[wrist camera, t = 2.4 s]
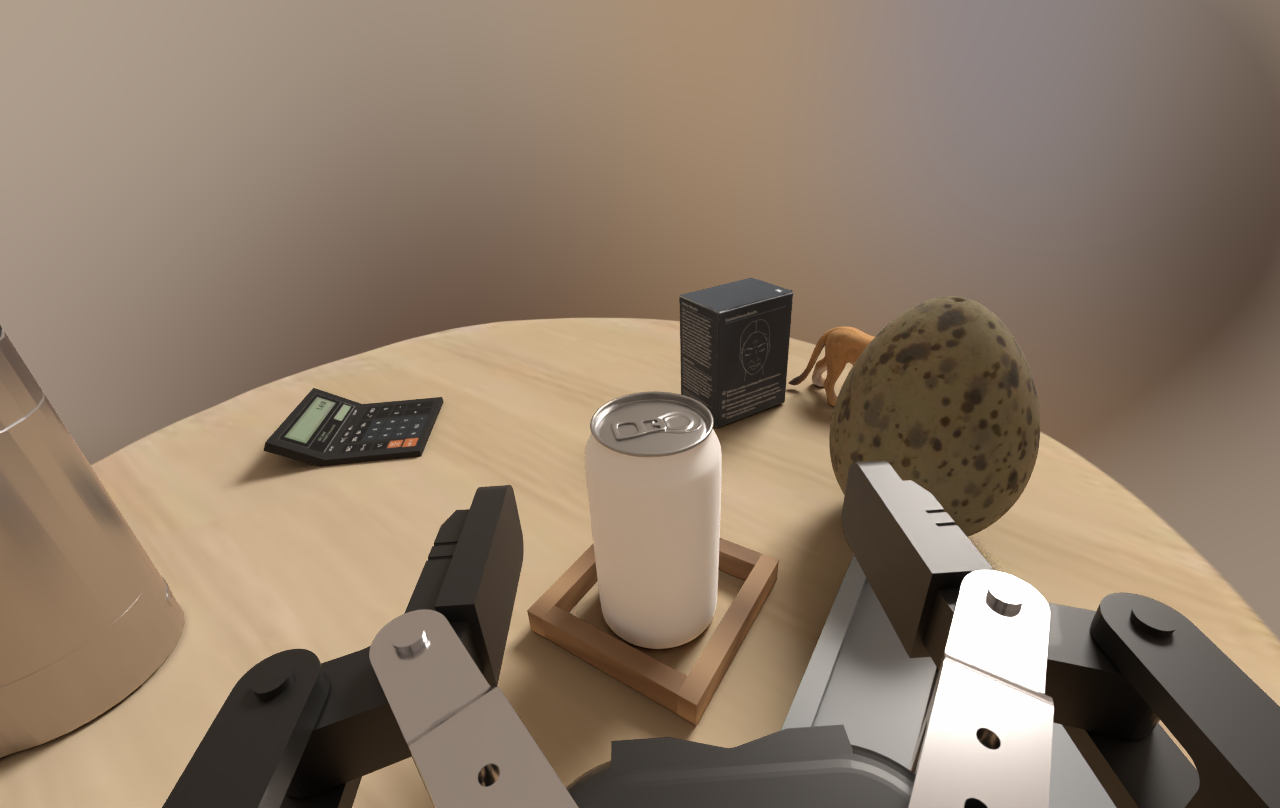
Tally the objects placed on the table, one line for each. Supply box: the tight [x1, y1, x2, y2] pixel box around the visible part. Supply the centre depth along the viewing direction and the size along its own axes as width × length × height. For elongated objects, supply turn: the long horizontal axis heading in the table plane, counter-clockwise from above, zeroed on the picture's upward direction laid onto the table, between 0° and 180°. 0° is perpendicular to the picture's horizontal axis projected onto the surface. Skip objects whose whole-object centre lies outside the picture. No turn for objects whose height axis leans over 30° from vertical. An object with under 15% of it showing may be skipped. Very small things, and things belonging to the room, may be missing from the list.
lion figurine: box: [789, 327, 875, 407], centre depth 47 cm, size 15×5×9 cm, turn 61°
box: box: [680, 278, 793, 428], centre depth 48 cm, size 8×6×11 cm
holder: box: [527, 538, 779, 726], centre depth 31 cm, size 10×10×2 cm
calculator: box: [264, 388, 443, 466], centre depth 48 cm, size 9×12×3 cm
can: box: [585, 392, 722, 649], centre depth 28 cm, size 6×6×12 cm
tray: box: [781, 555, 1159, 808], centre depth 24 cm, size 13×13×2 cm
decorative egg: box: [829, 296, 1040, 537], centre depth 32 cm, size 11×11×15 cm
